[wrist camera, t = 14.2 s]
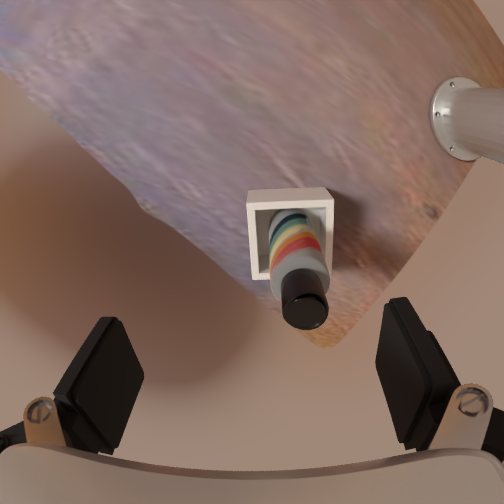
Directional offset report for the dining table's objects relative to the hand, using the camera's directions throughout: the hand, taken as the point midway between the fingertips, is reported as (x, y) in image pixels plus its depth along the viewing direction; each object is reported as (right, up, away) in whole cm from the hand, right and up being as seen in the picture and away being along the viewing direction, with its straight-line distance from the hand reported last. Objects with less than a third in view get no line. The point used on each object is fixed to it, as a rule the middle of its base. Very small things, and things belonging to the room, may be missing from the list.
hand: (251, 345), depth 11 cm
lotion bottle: (+5, +7, +32) cm, 33 cm away
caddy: (+5, +7, +33) cm, 34 cm away
